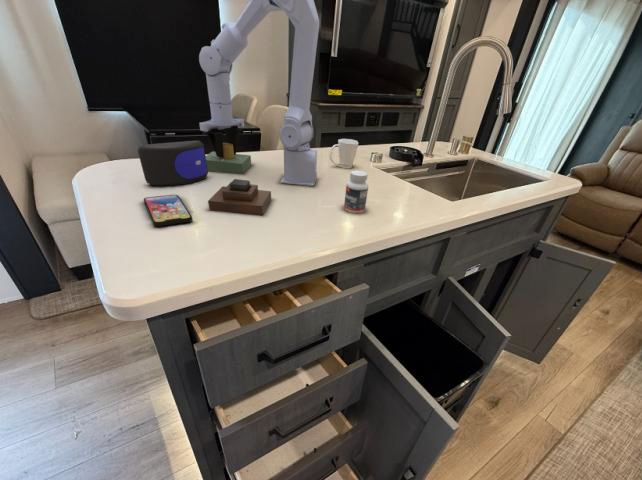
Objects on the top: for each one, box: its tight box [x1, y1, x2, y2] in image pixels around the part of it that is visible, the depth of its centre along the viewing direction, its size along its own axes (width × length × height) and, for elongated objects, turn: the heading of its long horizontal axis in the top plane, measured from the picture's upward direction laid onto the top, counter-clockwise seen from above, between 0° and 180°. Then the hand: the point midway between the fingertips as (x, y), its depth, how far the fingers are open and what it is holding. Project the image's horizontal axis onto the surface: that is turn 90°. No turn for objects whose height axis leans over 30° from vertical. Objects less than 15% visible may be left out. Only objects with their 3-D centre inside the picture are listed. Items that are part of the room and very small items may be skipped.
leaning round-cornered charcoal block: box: [137, 140, 209, 187], centre depth 82 cm, size 16×5×9 cm, turn 134°
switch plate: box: [207, 183, 272, 216], centre depth 75 cm, size 12×10×4 cm
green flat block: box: [205, 151, 252, 175], centre depth 98 cm, size 12×10×3 cm
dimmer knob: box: [219, 142, 234, 159], centre depth 96 cm, size 4×4×4 cm
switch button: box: [229, 178, 251, 192], centre depth 74 cm, size 4×4×2 cm
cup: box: [329, 138, 359, 169], centre depth 108 cm, size 7×10×8 cm
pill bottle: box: [343, 170, 369, 214], centre depth 78 cm, size 5×5×9 cm
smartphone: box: [143, 194, 193, 227], centre depth 70 cm, size 7×1×15 cm
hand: (226, 155), depth 97 cm, fingers closed on dimmer knob, 4 cm apart
